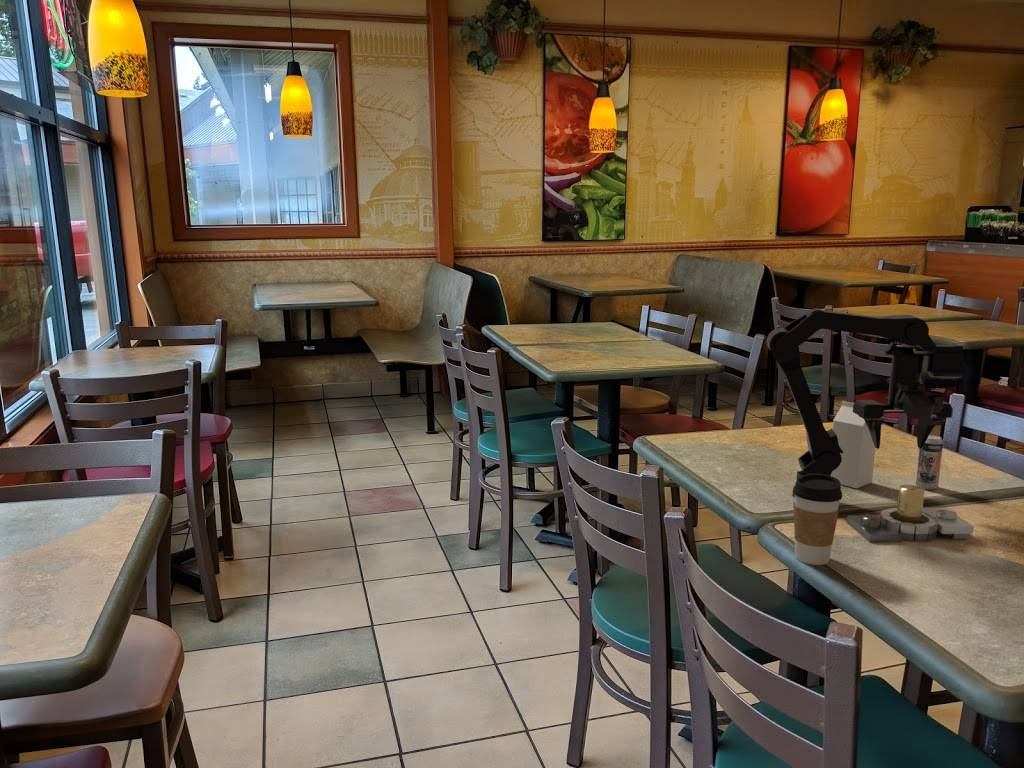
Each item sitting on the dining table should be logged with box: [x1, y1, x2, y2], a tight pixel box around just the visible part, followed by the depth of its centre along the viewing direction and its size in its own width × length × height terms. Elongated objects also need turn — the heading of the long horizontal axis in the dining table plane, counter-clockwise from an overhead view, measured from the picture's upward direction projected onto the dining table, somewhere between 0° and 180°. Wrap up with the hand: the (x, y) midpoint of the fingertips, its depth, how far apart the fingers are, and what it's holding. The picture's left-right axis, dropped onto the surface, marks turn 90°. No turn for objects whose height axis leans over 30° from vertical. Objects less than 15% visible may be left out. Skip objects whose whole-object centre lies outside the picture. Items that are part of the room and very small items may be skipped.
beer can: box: [914, 434, 944, 491], centre depth 183 cm, size 5×5×12 cm
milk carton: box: [831, 400, 876, 489], centre depth 185 cm, size 7×7×19 cm
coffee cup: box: [792, 474, 843, 566], centre depth 144 cm, size 8×8×15 cm
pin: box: [896, 484, 926, 524], centre depth 157 cm, size 4×4×9 cm
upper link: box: [880, 507, 975, 540], centre depth 157 cm, size 15×10×4 cm, turn 92°
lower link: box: [846, 513, 938, 543], centre depth 157 cm, size 15×10×3 cm, turn 92°
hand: (898, 448), depth 169 cm, fingers open, 9 cm apart
